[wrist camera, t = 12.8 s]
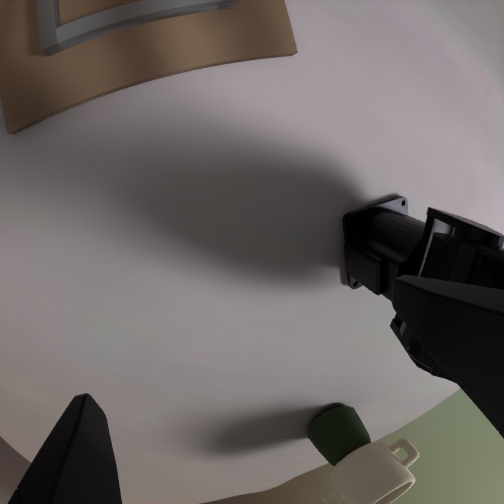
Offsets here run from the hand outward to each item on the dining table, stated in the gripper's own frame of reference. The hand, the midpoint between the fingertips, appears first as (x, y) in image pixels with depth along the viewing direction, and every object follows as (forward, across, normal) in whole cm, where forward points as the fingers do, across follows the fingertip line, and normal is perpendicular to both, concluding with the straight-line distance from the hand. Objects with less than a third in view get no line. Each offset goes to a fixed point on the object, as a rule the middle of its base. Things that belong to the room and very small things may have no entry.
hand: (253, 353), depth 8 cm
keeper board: (+13, 0, -18) cm, 22 cm away
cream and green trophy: (+13, -8, +27) cm, 31 cm away
